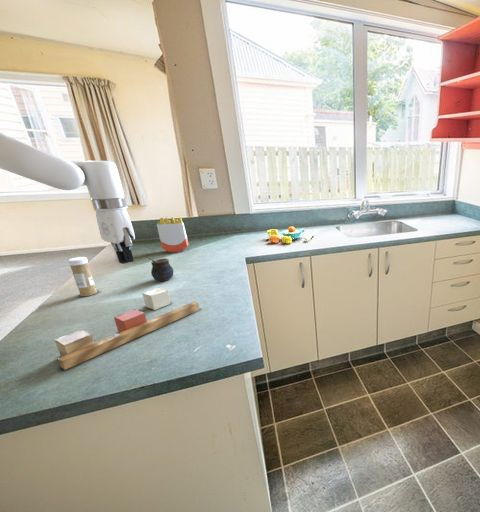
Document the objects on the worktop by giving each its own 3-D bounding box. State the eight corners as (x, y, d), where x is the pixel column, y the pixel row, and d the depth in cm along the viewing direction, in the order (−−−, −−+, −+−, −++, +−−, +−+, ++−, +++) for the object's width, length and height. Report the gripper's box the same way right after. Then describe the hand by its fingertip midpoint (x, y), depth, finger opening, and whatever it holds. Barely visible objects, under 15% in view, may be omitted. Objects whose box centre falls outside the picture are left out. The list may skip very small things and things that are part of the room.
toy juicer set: (266, 245, 166) (264, 232, 164) (268, 238, 183) (267, 225, 180) (318, 242, 174) (317, 229, 172) (315, 235, 191) (314, 223, 188)
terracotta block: (128, 337, 80) (123, 321, 79) (118, 332, 82) (113, 317, 81) (148, 328, 85) (144, 313, 83) (139, 324, 87) (134, 309, 85)
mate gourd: (174, 280, 118) (169, 256, 115) (150, 284, 114) (144, 259, 111) (175, 274, 124) (170, 251, 121) (153, 277, 120) (147, 254, 117)
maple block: (70, 363, 70) (63, 345, 68) (61, 357, 72) (54, 339, 71) (97, 351, 74) (91, 334, 73) (87, 346, 76) (81, 329, 75)
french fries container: (165, 250, 155) (157, 216, 150) (189, 248, 159) (182, 215, 154) (163, 253, 151) (155, 218, 146) (188, 250, 155) (181, 217, 150)
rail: (65, 369, 68) (61, 360, 67) (61, 367, 69) (57, 358, 68) (199, 309, 95) (198, 302, 95) (195, 308, 96) (194, 301, 95)
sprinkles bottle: (100, 292, 107) (89, 257, 103) (85, 297, 103) (73, 261, 98) (91, 290, 108) (80, 255, 104) (76, 295, 104) (64, 259, 100)
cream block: (154, 310, 95) (151, 296, 93) (145, 306, 97) (142, 293, 95) (171, 303, 99) (167, 290, 98) (162, 300, 101) (158, 287, 100)
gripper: (81, 204, 87) (100, 262, 93) (107, 207, 81) (125, 269, 87) (112, 200, 94) (127, 255, 100) (138, 204, 88) (153, 262, 94)
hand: (126, 262), depth 93 cm, fingers closed
